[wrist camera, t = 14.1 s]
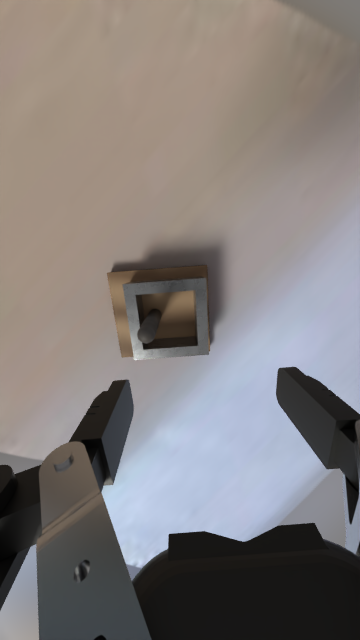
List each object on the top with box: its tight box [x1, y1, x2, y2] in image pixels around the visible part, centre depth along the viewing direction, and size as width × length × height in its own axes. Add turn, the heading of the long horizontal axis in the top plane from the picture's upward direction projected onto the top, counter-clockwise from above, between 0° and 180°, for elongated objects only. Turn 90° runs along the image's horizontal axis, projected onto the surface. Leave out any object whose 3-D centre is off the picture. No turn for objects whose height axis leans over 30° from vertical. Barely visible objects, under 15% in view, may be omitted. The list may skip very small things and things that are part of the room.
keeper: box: [107, 265, 210, 357], centre depth 26 cm, size 14×15×12 cm
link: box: [122, 276, 209, 360], centre depth 28 cm, size 11×11×4 cm
